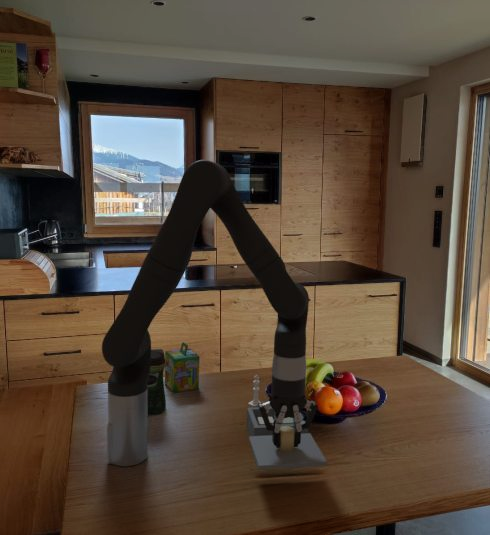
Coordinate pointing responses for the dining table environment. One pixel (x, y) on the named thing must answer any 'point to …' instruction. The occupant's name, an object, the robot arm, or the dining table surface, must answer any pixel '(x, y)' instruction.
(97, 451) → the dining table surface
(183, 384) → the chalk box
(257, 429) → the box
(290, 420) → the sage block
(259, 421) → the cream block
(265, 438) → the lid
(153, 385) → the coffee jar
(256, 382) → the chess piece
